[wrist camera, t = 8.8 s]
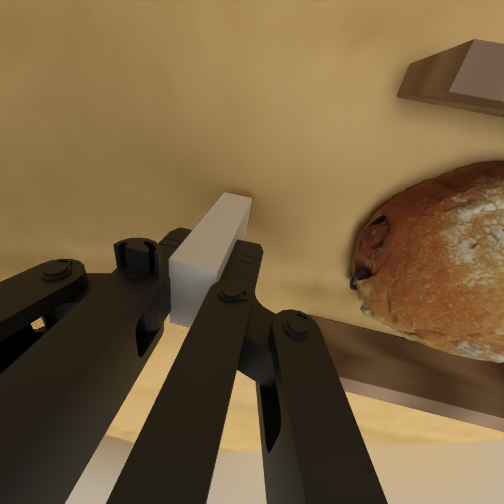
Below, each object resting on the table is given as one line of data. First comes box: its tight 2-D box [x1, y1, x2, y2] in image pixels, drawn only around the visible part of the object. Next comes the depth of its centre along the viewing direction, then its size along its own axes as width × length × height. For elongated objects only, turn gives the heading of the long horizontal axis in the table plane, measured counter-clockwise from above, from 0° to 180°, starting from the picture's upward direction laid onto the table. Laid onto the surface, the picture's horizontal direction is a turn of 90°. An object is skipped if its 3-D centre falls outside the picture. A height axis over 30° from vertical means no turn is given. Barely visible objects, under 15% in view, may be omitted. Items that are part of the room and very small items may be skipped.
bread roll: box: [349, 161, 504, 363], centre depth 12 cm, size 10×10×8 cm
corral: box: [309, 39, 504, 432], centre depth 12 cm, size 15×16×4 cm
